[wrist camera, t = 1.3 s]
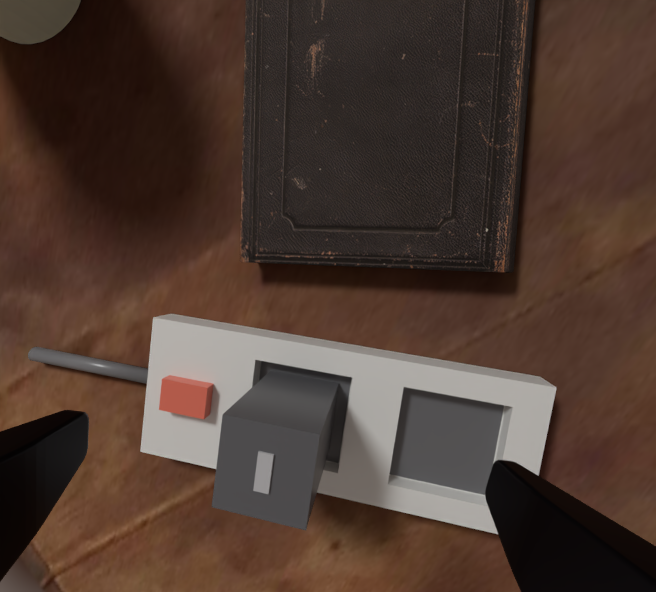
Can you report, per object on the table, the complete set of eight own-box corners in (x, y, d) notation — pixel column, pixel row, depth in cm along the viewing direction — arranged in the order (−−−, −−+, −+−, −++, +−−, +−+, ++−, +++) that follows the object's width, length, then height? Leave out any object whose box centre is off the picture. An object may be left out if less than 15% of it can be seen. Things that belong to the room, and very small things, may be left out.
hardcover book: (252, 262, 24) (239, 262, 22) (262, -106, 22) (248, -149, 20) (503, 272, 22) (518, 272, 19) (536, -138, 20) (555, -190, 18)
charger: (329, 450, 22) (305, 531, 15) (262, 436, 23) (210, 508, 16) (338, 383, 22) (319, 435, 15) (270, 370, 23) (221, 415, 16)
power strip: (512, 516, 22) (531, 551, 19) (37, 410, 27) (-3, 426, 24) (540, 376, 21) (564, 392, 18) (45, 292, 26) (5, 294, 23)
